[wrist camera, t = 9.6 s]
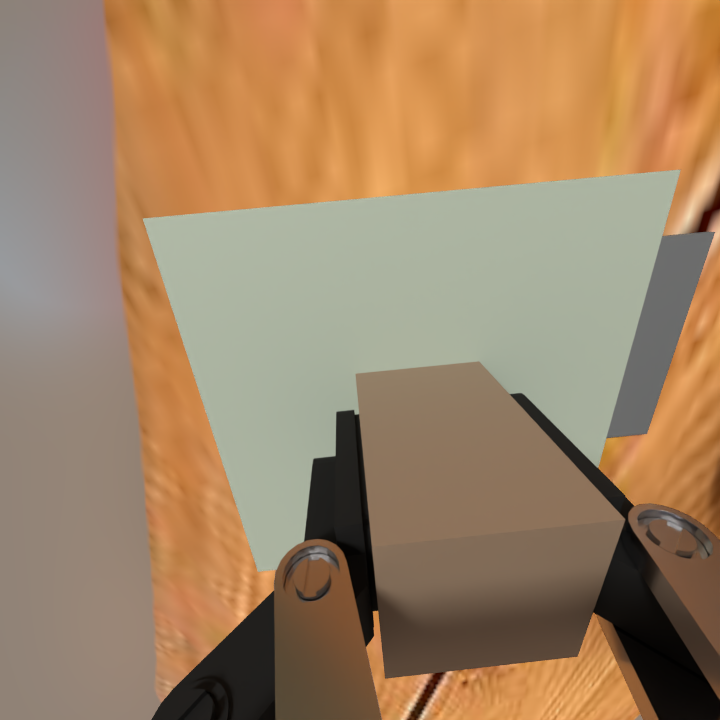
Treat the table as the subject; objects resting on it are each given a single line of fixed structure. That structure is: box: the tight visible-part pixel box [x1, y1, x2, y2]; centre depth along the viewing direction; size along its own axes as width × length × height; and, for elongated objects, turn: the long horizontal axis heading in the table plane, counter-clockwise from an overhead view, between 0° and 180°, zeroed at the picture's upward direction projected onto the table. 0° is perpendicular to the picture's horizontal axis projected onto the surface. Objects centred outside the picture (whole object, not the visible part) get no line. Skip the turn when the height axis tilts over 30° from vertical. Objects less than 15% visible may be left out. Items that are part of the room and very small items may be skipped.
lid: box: [143, 170, 680, 678], centre depth 9 cm, size 14×14×7 cm
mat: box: [606, 232, 715, 438], centre depth 28 cm, size 18×18×1 cm
